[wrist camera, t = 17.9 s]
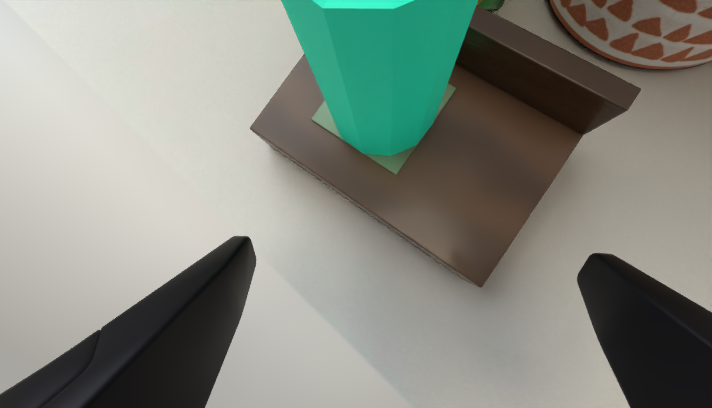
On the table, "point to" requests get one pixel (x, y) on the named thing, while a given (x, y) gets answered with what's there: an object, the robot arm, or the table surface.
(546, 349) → the table surface
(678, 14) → the patterned ceramic planter
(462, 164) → the brown block with ledge
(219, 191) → the table surface
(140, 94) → the table surface
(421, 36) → the candle
